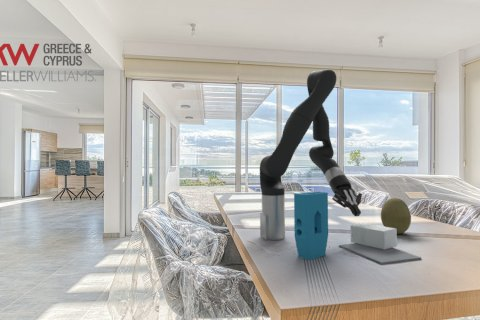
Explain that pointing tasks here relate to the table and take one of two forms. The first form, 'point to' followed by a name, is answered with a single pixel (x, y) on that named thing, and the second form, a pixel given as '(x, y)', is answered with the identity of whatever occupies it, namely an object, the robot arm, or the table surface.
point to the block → (311, 224)
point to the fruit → (396, 215)
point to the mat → (380, 254)
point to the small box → (374, 235)
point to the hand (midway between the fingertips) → (358, 215)
